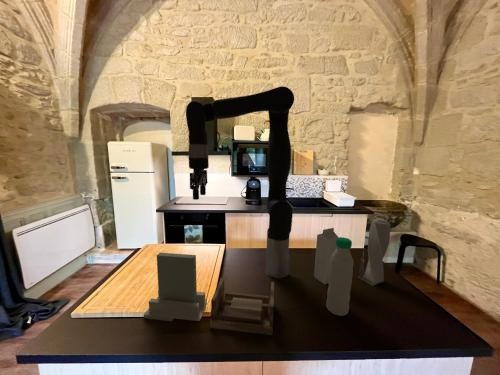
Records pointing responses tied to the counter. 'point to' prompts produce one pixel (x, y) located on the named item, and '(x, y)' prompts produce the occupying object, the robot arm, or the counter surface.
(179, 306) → the grey stand
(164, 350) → the counter surface
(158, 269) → the sage panel
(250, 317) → the pine offcut
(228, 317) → the walnut offcut
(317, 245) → the milk
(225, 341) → the counter surface
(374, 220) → the skyscraper
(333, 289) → the water bottle
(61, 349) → the counter surface
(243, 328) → the oak rack
